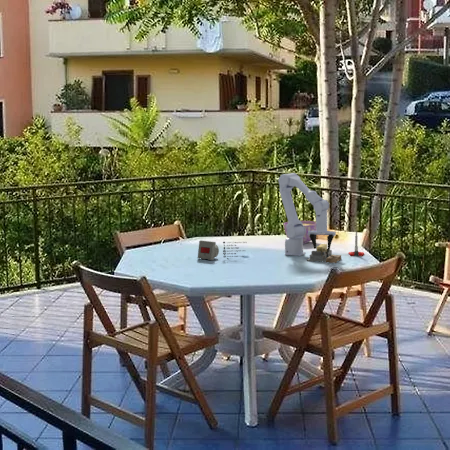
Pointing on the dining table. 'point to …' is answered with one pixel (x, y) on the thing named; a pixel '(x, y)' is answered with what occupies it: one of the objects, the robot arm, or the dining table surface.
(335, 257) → the block
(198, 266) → the dining table surface
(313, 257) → the grey stepped metal block
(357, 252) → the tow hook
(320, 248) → the link bar
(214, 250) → the voltmeter
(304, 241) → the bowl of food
